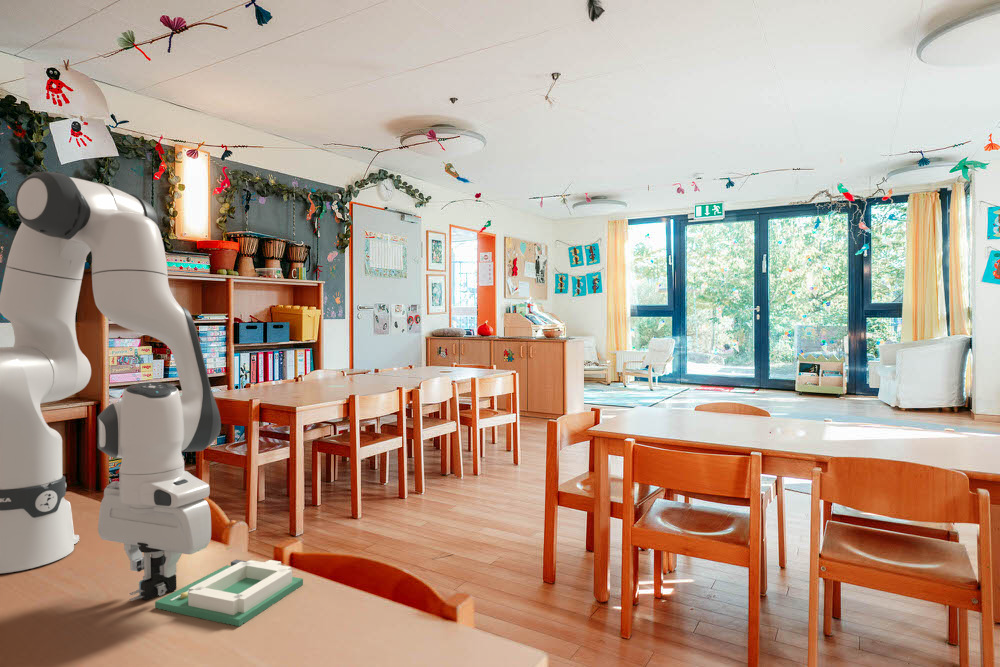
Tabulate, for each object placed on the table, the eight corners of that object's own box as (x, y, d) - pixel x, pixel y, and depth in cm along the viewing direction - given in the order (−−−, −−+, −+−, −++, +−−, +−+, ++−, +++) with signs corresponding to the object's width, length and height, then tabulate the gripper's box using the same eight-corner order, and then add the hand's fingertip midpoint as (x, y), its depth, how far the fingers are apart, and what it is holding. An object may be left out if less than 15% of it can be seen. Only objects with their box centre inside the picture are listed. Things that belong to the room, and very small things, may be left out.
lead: (230, 568, 101) (230, 562, 101) (235, 566, 102) (235, 559, 102) (277, 577, 98) (277, 570, 98) (281, 574, 99) (282, 567, 99)
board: (155, 608, 87) (155, 588, 87) (228, 569, 101) (228, 552, 101) (239, 626, 82) (239, 605, 82) (304, 583, 95) (304, 565, 95)
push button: (138, 608, 87) (136, 542, 87) (122, 599, 90) (121, 535, 90) (183, 591, 92) (181, 529, 92) (167, 583, 95) (165, 523, 95)
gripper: (86, 485, 91) (86, 571, 91) (184, 498, 85) (184, 591, 85) (123, 475, 97) (124, 556, 97) (218, 486, 91) (218, 573, 91)
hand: (153, 572), depth 91 cm, fingers closed on push button, 5 cm apart
